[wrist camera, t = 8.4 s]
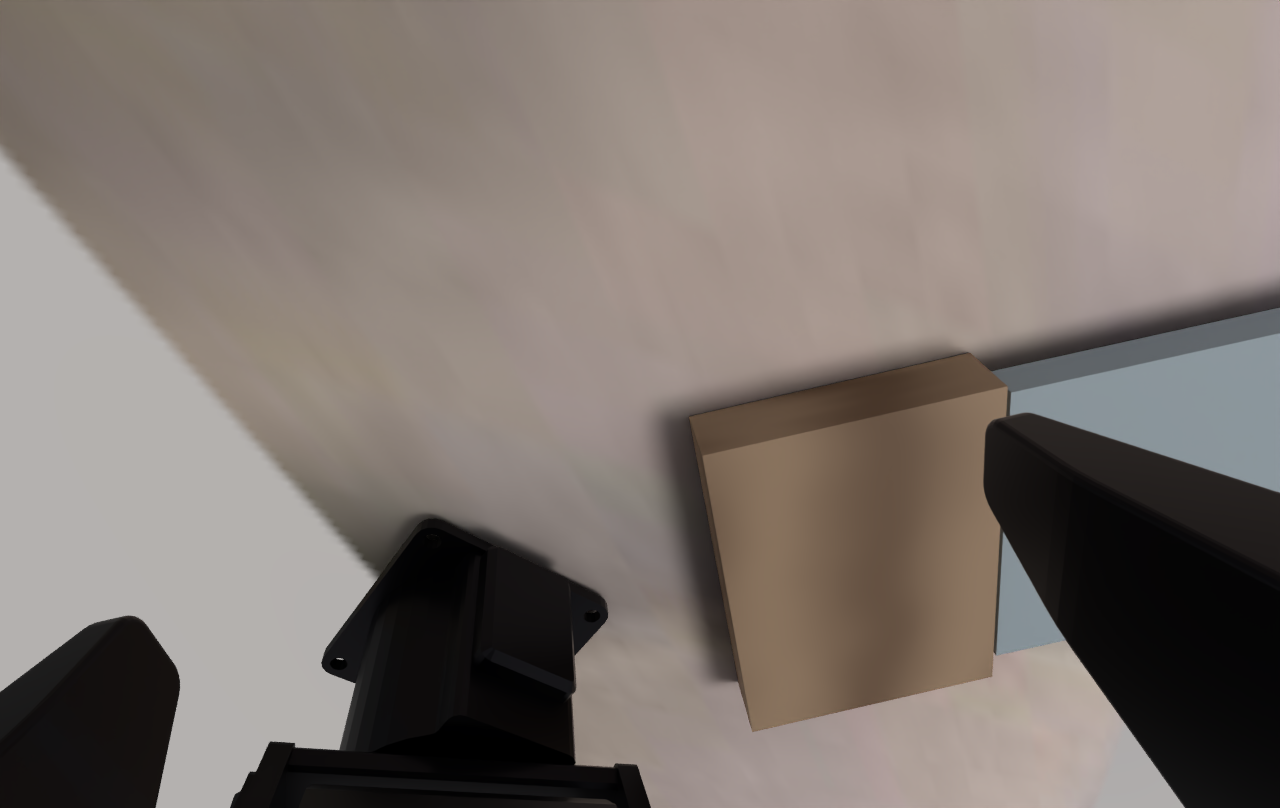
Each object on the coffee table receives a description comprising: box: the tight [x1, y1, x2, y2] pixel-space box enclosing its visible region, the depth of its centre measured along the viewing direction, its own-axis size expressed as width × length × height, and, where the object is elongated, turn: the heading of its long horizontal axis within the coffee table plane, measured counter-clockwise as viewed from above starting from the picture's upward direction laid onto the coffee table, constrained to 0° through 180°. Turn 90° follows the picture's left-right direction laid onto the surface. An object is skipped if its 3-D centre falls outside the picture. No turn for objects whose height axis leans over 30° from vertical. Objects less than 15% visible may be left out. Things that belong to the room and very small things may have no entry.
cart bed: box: [689, 353, 1008, 732], centre depth 24 cm, size 8×11×2 cm
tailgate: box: [991, 308, 1280, 655], centre depth 24 cm, size 2×10×10 cm
